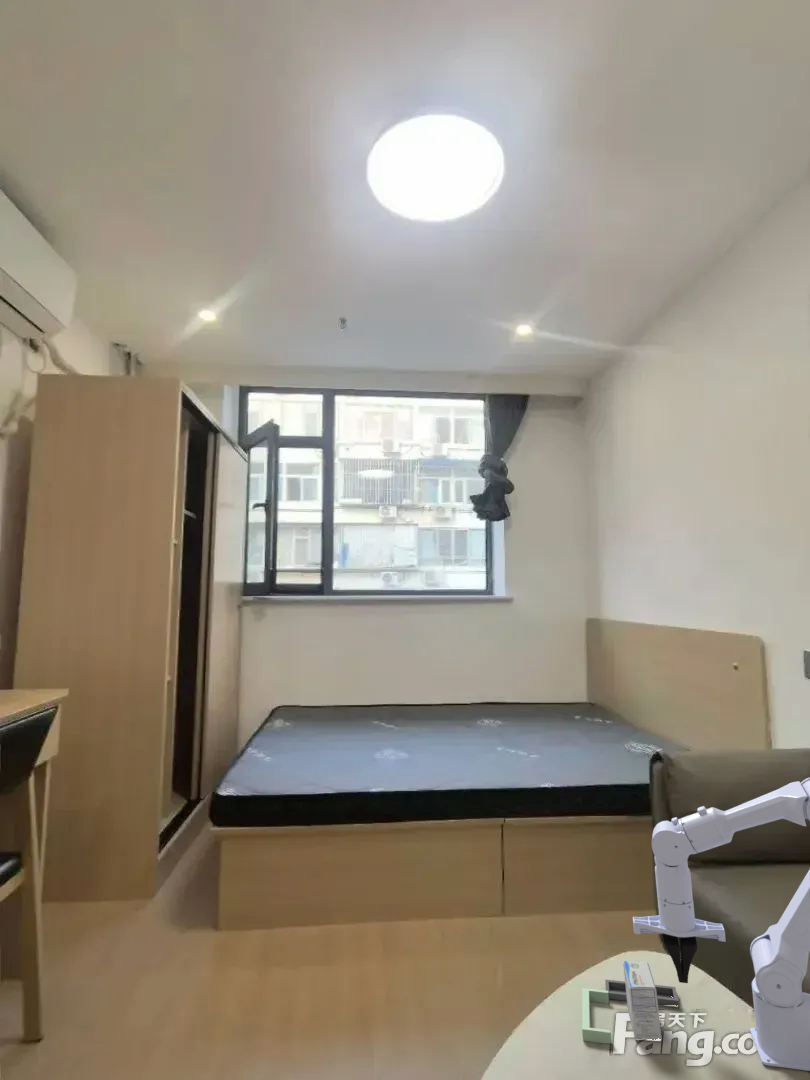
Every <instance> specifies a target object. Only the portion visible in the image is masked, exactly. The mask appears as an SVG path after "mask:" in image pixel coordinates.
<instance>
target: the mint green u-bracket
mask: <svg viewBox="0 0 810 1080" xmlns="http://www.w3.org/2000/svg"><path fill="white" fill-rule="evenodd" d="M581 991H582V992H581V994H582V995H581V1001H582V1002H581V1007H582V1008H581V1016H582V1017H581V1030H582V1031H581V1033H582V1041H585V1042H591V1043H592V1042H593V1043H598V1044H599V1043H601V1044H606V1043H609V1044H608V1045H611V1044H610V1043H612V1034H611V1032H612V1031H611V1030H610V1029H603V1028H594V1027H591V1002H595V1003H605V1004H609V1003H610V1000H609V997H608V991H606V989H605V990H604V989H596V988H595V989H594V988H586V987H582V988H581Z"/></svg>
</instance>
